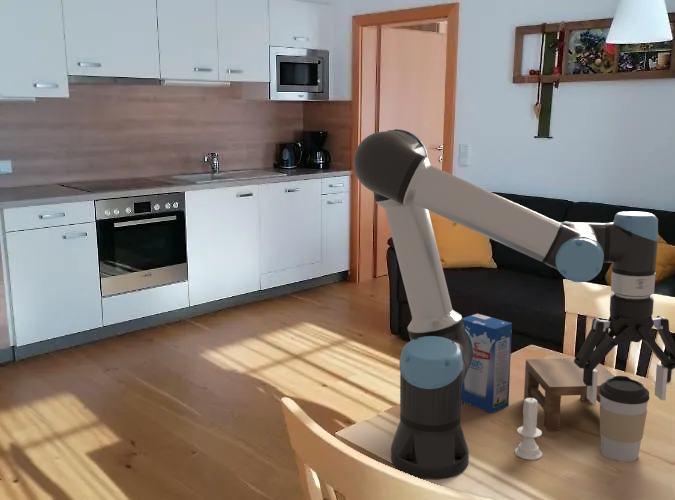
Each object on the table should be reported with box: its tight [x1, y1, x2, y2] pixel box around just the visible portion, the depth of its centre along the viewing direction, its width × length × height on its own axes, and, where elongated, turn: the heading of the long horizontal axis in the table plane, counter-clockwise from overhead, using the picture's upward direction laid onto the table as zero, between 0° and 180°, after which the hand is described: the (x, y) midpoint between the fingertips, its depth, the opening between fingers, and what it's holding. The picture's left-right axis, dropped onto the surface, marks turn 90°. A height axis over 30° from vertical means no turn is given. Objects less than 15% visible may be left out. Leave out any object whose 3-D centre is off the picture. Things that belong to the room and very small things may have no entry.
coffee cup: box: [599, 375, 650, 463], centre depth 132 cm, size 9×9×15 cm
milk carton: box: [461, 313, 513, 414], centre depth 155 cm, size 10×6×20 cm, turn 40°
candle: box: [514, 398, 543, 461], centre depth 132 cm, size 5×5×12 cm
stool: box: [523, 357, 616, 432], centre depth 150 cm, size 16×16×10 cm
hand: (625, 399), depth 131 cm, fingers open, 13 cm apart
